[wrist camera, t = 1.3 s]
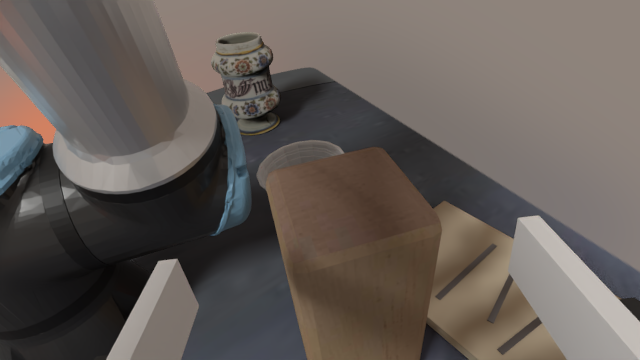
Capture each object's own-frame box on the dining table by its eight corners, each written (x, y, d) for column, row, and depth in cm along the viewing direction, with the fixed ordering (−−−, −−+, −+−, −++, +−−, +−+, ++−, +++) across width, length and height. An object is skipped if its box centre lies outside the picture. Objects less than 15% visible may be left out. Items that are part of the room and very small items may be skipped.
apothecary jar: (283, 108, 81) (269, 25, 70) (285, 133, 71) (270, 42, 60) (231, 115, 80) (209, 33, 69) (226, 142, 71) (199, 51, 60)
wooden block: (379, 287, 41) (382, 139, 28) (422, 373, 33) (451, 220, 21) (295, 312, 39) (260, 167, 27) (319, 409, 31) (286, 266, 19)
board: (362, 268, 43) (361, 261, 42) (443, 206, 50) (444, 200, 49) (640, 506, 25) (649, 502, 24) (705, 355, 32) (713, 348, 31)
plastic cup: (271, 213, 52) (255, 145, 45) (342, 201, 53) (337, 132, 46) (274, 271, 44) (254, 198, 36) (358, 256, 44) (356, 182, 37)
